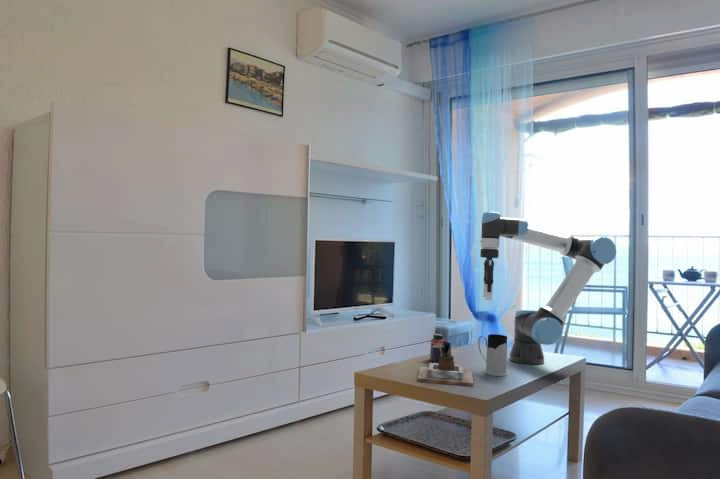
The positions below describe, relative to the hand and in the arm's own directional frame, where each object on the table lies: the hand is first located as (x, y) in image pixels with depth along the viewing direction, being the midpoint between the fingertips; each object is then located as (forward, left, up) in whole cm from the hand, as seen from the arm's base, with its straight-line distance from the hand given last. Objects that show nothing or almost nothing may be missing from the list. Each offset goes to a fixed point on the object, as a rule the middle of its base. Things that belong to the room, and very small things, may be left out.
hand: (487, 298), depth 228 cm
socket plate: (+16, +26, -29) cm, 42 cm away
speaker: (+18, +6, -29) cm, 35 cm away
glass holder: (-2, +9, -29) cm, 30 cm away
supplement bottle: (+20, -5, -29) cm, 35 cm away
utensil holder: (+16, +26, -28) cm, 41 cm away
